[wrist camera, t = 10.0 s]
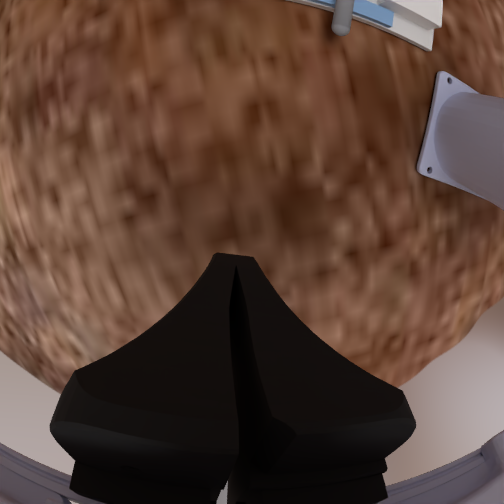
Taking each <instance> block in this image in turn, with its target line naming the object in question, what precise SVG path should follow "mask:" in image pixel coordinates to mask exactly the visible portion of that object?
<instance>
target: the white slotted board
mask: <svg viewBox="0 0 504 504" xmlns="http://www.w3.org/2000/svg"><path fill="white" fill-rule="evenodd" d="M287 1H292V2H297V3H301V4H305V5H309V6H313V7H317V8H320V9H324V10H327V11H331V12H334V9H335V3H336V0H287ZM442 7H443V0H355V1H354V8H353V14H352V19H355V20H358V21H361V22H363V23H366V24H369V25H371V26H374V27H376V28H379V29H381V30H383V31H386V32H388V33H390V34H393V35H395V36H397V37H399V38H401V39H403V40H406V41H408V42H410V43H412V44H414V45H416V46H418V47H420V48H422V49H423V50H425V51H432V42H433V32H434V29H435V28H440V27H441V25H442Z"/></svg>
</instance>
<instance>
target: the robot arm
mask: <svg viewBox="0 0 504 504" xmlns="http://www.w3.org/2000/svg"><path fill="white" fill-rule="evenodd" d="M447 78H448V79H449V83H448V82H447ZM428 167H429V168H430V169H429V171H428V172H427V169H428ZM417 171H418V172H419V173H420V174H422V175H425V176H427V177H430V178H433V179H436V180H439V181H441V182H444V183H447V184H449V185H452V186H454V187H457V188H459V189H462V190H464V191H467V192H469V193H472V194H474V195H476V196H479V197H481V198H483V199H485V200H488V201H490V202H491V203H493V204H494V205H496V206H498V207H499V208H501V209H502V210H504V98H500V97H494V96H489V95H482V94H479V93H478V92H476V91H475V90H474V89H472V88H471V87H469V86H468V85H466V84H464V83H463V82H461V81H460V80H458V79H457V78H455V77H453V76H452V75H450V74H448V73H447V72H445V71H439V72H438V73H437V77H436V83H435V89H434V95H433V100H432V105H431V110H430V115H429V120H428V124H427V129H426V133H425V137H424V141H423V145H422V149H421V153H420V156H419V160H418V164H417ZM415 428H416V421H415V419H414V416H413V414H412V411H411V409H410V407H409V404H408V402H407V399H406V397H405V395H404V393H403V391H402V390H400V389H398V388H396V387H394V386H392V385H390V384H388V383H387V382H385V381H383V380H381V379H379V378H377V377H375V376H373V375H371V374H370V373H368V372H366V371H365V370H363V369H361V368H360V367H358V366H357V365H355V364H354V363H352V362H350V361H349V360H348V359H346V358H345V357H343V356H342V355H340V354H339V353H338V352H336V351H335V350H334V349H333V348H331V347H330V346H329V345H328V344H326V343H325V342H324V341H322V340H321V339H320V338H319V337H318V336H317V335H315V334H314V333H313V332H312V331H311V330H310V329H309V328H308V327H307V326H306V325H305V324H304V323H303V322H302V321H301V320H300V319H299V318H298V317H297V316H296V315H295V314H294V313H293V312H292V311H291V309H290V308H289V307H288V306H287V305H286V304H285V302H284V301H283V300H282V299H281V297H280V296H279V295H278V293H277V292H276V291H275V289H274V288H273V286H272V285H271V284H270V282H269V281H268V279H267V278H266V276H265V275H264V273H263V271H262V270H261V268H260V267H259V265H258V263H257V262H256V260H255V259H254V257H250V256H241V255H233V254H225V253H215V254H214V255H213V257H212V259H211V261H210V263H209V265H208V267H207V268H206V270H205V271H204V273H203V274H202V275H201V277H200V278H199V279H198V281H197V282H196V283H195V285H194V286H193V287H192V288H191V289H190V291H189V292H188V293H187V294H186V295H185V296H184V297H183V299H182V300H181V301H180V302H179V303H178V304H177V305H176V306H175V307H174V308H173V309H172V310H171V311H169V312H168V313H167V314H166V315H165V316H164V317H163V318H162V319H160V320H159V321H158V322H157V323H155V324H154V325H153V326H152V327H150V328H149V329H148V330H147V331H145V332H144V333H143V334H141V335H140V336H138V337H137V338H135V339H134V340H132V341H130V342H129V343H127V344H126V345H124V346H123V347H121V348H119V349H118V350H116V351H114V352H113V353H111V354H109V355H107V356H105V357H103V358H101V359H99V360H97V361H95V362H93V363H91V364H89V365H87V366H84V367H82V368H80V369H78V370H75V371H74V373H73V374H72V376H71V378H70V380H69V381H68V383H67V385H66V386H65V388H64V390H63V392H62V394H61V396H60V398H59V401H58V404H57V406H56V409H55V412H54V414H53V417H52V420H51V423H50V432H51V434H52V435H53V437H54V438H55V440H56V441H57V442H58V443H59V445H60V446H61V447H62V448H63V449H64V450H65V451H66V452H67V453H68V454H69V455H70V456H71V457H72V458H73V459H74V460H75V464H74V468H73V473H72V476H71V475H68V474H65V473H62V472H60V471H58V470H55V469H52V468H50V467H48V466H46V465H43V464H41V463H39V462H36V461H34V460H32V459H30V458H28V457H26V456H24V455H22V454H20V453H18V452H16V451H14V450H12V449H11V448H9V447H7V446H5V445H3V444H1V443H0V504H71V502H70V501H69V500H71V501H73V502H76V503H79V504H216V501H217V498H218V496H219V494H220V492H221V489H224V487H225V485H226V483H227V481H228V493H227V504H504V430H503V431H502V432H500V433H498V434H497V435H495V436H494V437H493V438H491V439H490V440H489V441H487V442H486V443H485V444H484V445H482V447H481V448H480V449H478V450H476V451H474V452H472V453H470V454H468V455H466V456H464V457H462V458H460V459H457V460H455V461H453V462H451V463H449V464H446V465H444V466H442V467H439V468H437V469H434V470H432V471H430V472H427V473H424V474H422V475H419V476H416V477H414V478H410V479H408V480H404V481H401V482H398V483H395V484H392V485H388V486H385V482H384V479H383V475H382V473H384V472H386V471H387V465H386V461H385V458H386V457H387V456H388V455H390V454H391V453H392V452H394V451H395V450H396V449H397V448H398V447H400V446H401V445H402V444H403V443H404V442H406V441H407V440H408V439H409V438H410V437H411V435H412V434H413V432H414V430H415Z"/></svg>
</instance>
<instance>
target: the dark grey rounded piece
mask: <svg viewBox="0 0 504 504" xmlns="http://www.w3.org/2000/svg"><path fill="white" fill-rule="evenodd" d="M354 1H355V0H336V3H335V9H334V15H333V21H332V31H333V32H334V33H335V34H336V35H339V36H345V35H347V34H348V33H349V31H350V26H351V20H352V14H353V8H354Z"/></svg>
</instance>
